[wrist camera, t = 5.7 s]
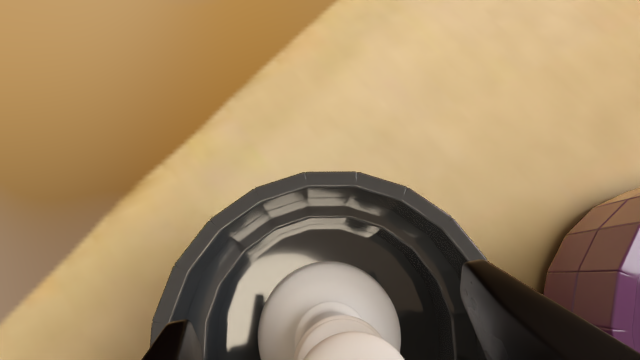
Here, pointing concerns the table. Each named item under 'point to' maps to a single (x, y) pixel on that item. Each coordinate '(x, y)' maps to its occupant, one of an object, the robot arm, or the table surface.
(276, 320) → the chess piece
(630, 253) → the plum bowl
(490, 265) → the robot arm
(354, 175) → the charcoal bowl
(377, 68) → the table surface
